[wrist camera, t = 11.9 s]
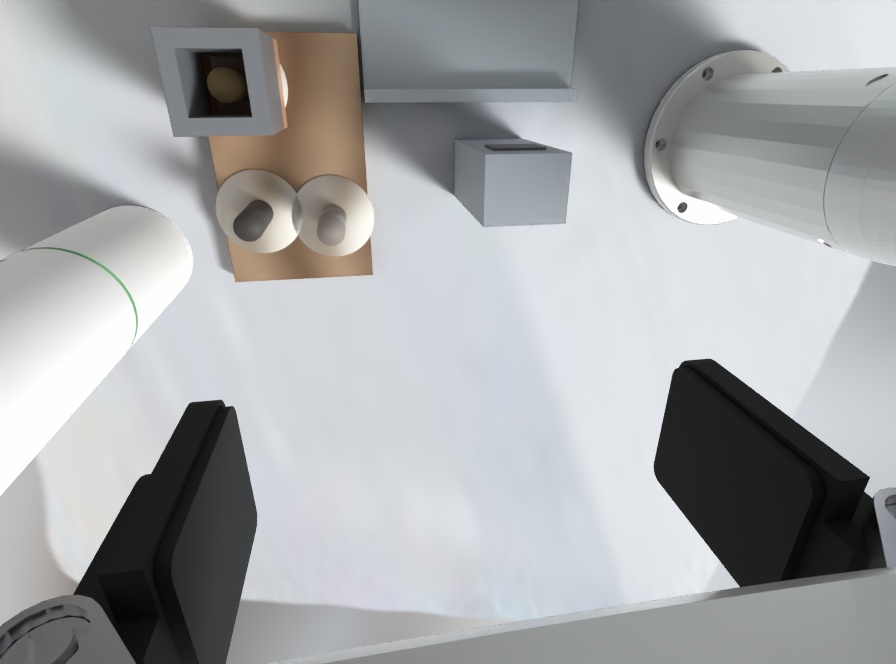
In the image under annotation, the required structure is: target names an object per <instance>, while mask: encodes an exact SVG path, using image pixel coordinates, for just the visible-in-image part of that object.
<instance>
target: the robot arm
mask: <svg viewBox="0 0 896 664" xmlns="http://www.w3.org/2000/svg"><path fill="white" fill-rule="evenodd" d="M702 73H703V75H702ZM656 142H657V145H656V146H655V144H656ZM644 167H645V174H646V179H647V182H648V185H649V187H650V190H651V193H652V194H653V196H654V197H655V199H656V200H657V202H658V203H659V204H660V205H661V206H662V207H663V208H664V209H665V210H666V211H667V212H668V213H670V214H672V215H673V216H675V217H677V218H679V219H681V220H684V221H687V222H689V223H694V224H700V225H713V224H720V223H724V222H728V221H731V220H733V219H736V218H738V217H740V218H743V219H746V220H749V221H752V222H756V223H759V224H762V225H765V226H768V227H771V228H774V229H777V230H780V231H783V232H786V233H789V234H792V235H795V236H798V237H801V238H804V239H807V240H810V241H813V242H816V243H820V244H823V245H826V246H829V247H832V248H835V249H838V250H841V251H844V252H847V253H850V254H853V255H856V256H859V257H862V258H865V259H869V260H872V261H875V262H879V263H883V264H887V265H892V266H896V67H889V68H867V69H845V70H822V71H800V72H790V71H789V70H788V69H787V67H786V66H785V65H784V64H782V63H781V62H780V61H779V60H777V59H776V58H775V57H773V56H770V55H768V54H765V53H763V52H759V51H751V50H739V51H730V52H725V53H721V54H716V55H714V56H712V57H709V58H707V59H705V60H703V61H701V62H699V63H698V64H696V65H695V66H693V67H692V68H690V69H689V70H688V71H686V72H685V73H684V74H683V75H682V76H681V77H680V78H679V79H678V80H677V81H676V82H675V83H674V84H673V85H672V86H671V88H670V89H669V90H668V92H667V93H666V94H665V96H664V97H663V98H662V100H661V102H660V104H659V106H658V107H657V109H656V111H655V113H654V115H653V118H652V120H651V123H650V126H649V129H648V132H647V137H646V142H645V147H644ZM654 472H655V476H656V478H657V480H658V482H659V483H660V484H661V486H662V487H663V488H664V489H665V491H666V492H667V493H668V495H669V496H670V497H671V498H672V500H673V501H674V502H675V504H676V505H677V506H678V507H679V509H680V510H681V511H682V513H683V514H684V515H685V516H686V518H687V519H688V520H689V522H690V523H691V524H692V525H693V527H694V528H695V529H696V531H697V532H698V533H699V535H700V536H701V537H702V538H703V540H704V541H705V542H706V544H707V545H708V546H709V547H710V549H711V550H712V551H713V553H714V554H715V555H716V556H717V558H718V559H719V560H720V562H721V563H722V564H723V565H724V567H725V568H726V569H727V571H728V572H729V573H730V574H731V576H732V577H733V578H734V580H735V581H736V582H737V584H738V585H739V586H740V588H733V589H727V590H720V591H713V592H706V593H699V594H693V595H686V596H679V597H673V598H666V599H660V600H653V601H647V602H640V603H634V604H627V605H621V606H614V607H608V608H601V609H595V610H588V611H582V612H576V613H569V614H563V615H557V616H550V617H544V618H537V619H531V620H525V621H518V622H512V623H506V624H499V625H493V626H487V627H481V628H474V629H469V630H462V631H456V632H450V633H444V634H438V635H431V636H425V637H419V638H413V639H406V640H400V641H394V642H388V643H382V644H375V645H369V646H363V647H357V648H351V649H346V650H340V651H335V652H329V653H324V654H318V655H312V656H307V657H301V658H296V659H290V660H285V661H279V662H273V663H268V664H896V488H886V489H881V490H879V491H878V492H877V493H876V494H875V495H874V497H873V498H871V497H870V496H869V495H868V494H866V493H865V492H864V490H865V488H866V485H867V483H868V481H869V478H870V477H869V476H867V475H866V474H865V473H863V472H862V471H861V470H859V469H858V468H857V467H855V466H854V465H853V464H851V463H850V462H849V461H847V460H846V459H845V458H843V457H842V456H841V455H839V454H838V453H837V452H835V451H834V450H833V449H831V448H830V447H829V446H827V445H826V444H825V443H823V442H822V441H821V440H819V439H818V438H817V437H815V436H814V435H813V434H811V433H810V432H809V431H807V430H806V429H805V428H803V427H802V426H801V425H799V424H798V423H797V422H795V421H794V420H793V419H791V418H790V417H789V416H788V415H786V414H785V413H784V412H782V411H781V410H780V409H778V408H777V407H776V406H774V405H773V404H772V403H770V402H769V401H768V400H766V399H765V398H764V397H762V396H761V395H760V394H758V393H757V392H756V391H754V390H753V389H752V388H750V387H749V386H748V385H746V384H745V383H744V382H742V381H741V380H740V379H738V378H737V377H736V376H734V375H733V374H732V373H730V372H729V371H728V370H726V369H725V368H724V367H722V366H721V365H720V364H718V363H717V362H716V361H714V360H712V359H700V360H688V361H684V362H682V363H681V365H680V366H679V368H677V369H675V370H674V372H673V375H672V380H671V385H670V389H669V394H668V399H667V404H666V409H665V413H664V418H663V423H662V428H661V433H660V437H659V442H658V447H657V452H656V456H655V461H654ZM256 527H257V511H256V506H255V501H254V496H253V491H252V486H251V482H250V477H249V472H248V467H247V463H246V458H245V453H244V448H243V443H242V439H241V434H240V429H239V424H238V420H237V415H236V411H235V408H234V407H233V406H229V407H225V404H224V402H223V401H222V400H213V401H201V402H192V403H190V404H189V405H188V406H187V408H186V410H185V412H184V414H183V416H182V417H181V419H180V421H179V423H178V425H177V427H176V429H175V430H174V432H173V434H172V436H171V438H170V440H169V442H168V444H167V445H166V447H165V449H164V451H163V453H162V455H161V457H160V459H159V460H158V462H157V464H156V466H155V468H154V470H153V472H152V473H151V474H147V475H144V476H142V477H140V478H139V480H138V481H137V482H136V484H135V486H134V487H133V489H132V491H131V493H130V494H129V496H128V498H127V500H126V502H125V503H124V505H123V507H122V509H121V510H120V512H119V514H118V516H117V518H116V519H115V521H114V523H113V525H112V526H111V528H110V530H109V532H108V534H107V535H106V537H105V539H104V541H103V543H102V544H101V546H100V548H99V550H98V551H97V553H96V555H95V557H94V559H93V560H92V562H91V564H90V566H89V567H88V569H87V571H86V573H85V575H84V576H83V578H82V580H81V582H80V583H79V585H78V587H77V589H76V591H75V592H74V594H73V595H67V596H60V597H56V598H53V599H49V600H46V601H43V602H40V603H38V604H36V605H34V606H32V607H30V608H28V609H26V610H23V611H22V612H20V613H19V614H17V615H16V616H14V617H13V618H11V619H10V620H8V621H7V622H5V623H4V624H2V625H1V626H0V664H226V659H227V655H228V651H229V646H230V642H231V637H232V633H233V629H234V624H235V620H236V615H237V611H238V607H239V602H240V598H241V594H242V589H243V585H244V580H245V576H246V572H247V567H248V563H249V558H250V554H251V550H252V545H253V541H254V536H255V532H256Z"/></svg>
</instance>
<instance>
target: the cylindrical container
mask: <svg viewBox="0 0 896 664" xmlns="http://www.w3.org/2000/svg"><path fill="white" fill-rule="evenodd" d="M192 269H193V257H192V251H191V248H190V245H189V243H188V241H187V239H186V237H185V236H184V234H183V233H182V231H181V230H180V229H179V228H178V227H177V226H176V225H175V224H174V223H173V222H172V221H171V220H169V219H168V218H167V217H165V216H163V215H162V214H160V213H158V212H156V211H153V210H151V209H148V208H145V207H140V206H132V205H123V206H117V207H113V208H110V209H107V210H105V211H103V212H101V213H99V214H96V215H94V216H92V217H90V218H88V219H86V220H84V221H82V222H80V223H78V224H75V225H73V226H71V227H69V228H67V229H65V230H63V231H61V232H59V233H56V234H54V235H52V236H50V237H48V238H46V239H44V240H42V241H40V242H38V243H35V244H33V245H31V246H29V247H27V248H25V249H23V250H21V251H19V252H16V253H14V254H12V255H10V256H8V257H6V258H4V259H2V260H0V495H1V494H2V493H3V492H4V491H5V490H6V489H7V487H8V486H9V485H10V484H11V483H12V482H13V481H14V480H15V479H16V477H17V476H18V475H19V474H20V473H21V472H22V470H23V469H24V468H25V467H26V466H27V465H28V464H29V463H30V461H31V460H32V459H33V458H34V457H35V456H36V455H37V453H38V452H39V451H40V450H41V449H42V448H43V447H44V446H45V444H46V443H47V442H48V441H49V440H50V439H51V438H52V436H53V435H54V434H55V433H56V432H57V431H58V430H59V428H60V427H61V426H62V425H63V424H64V423H65V422H66V421H67V419H68V418H69V417H70V416H71V415H72V414H73V413H74V411H75V410H76V409H77V408H78V407H79V406H80V405H81V403H82V402H83V401H84V400H85V399H86V398H87V397H88V395H89V394H90V393H91V392H92V391H93V390H94V389H95V388H96V386H97V385H98V384H99V383H100V382H101V381H102V380H103V378H104V377H105V376H106V375H107V374H108V373H109V372H110V370H111V369H112V368H113V367H114V366H115V365H116V364H117V363H118V361H119V360H120V359H121V358H122V357H123V356H124V354H125V353H126V352H127V351H128V350H129V349H130V348H131V347H132V345H133V344H134V343H135V342H136V341H137V340H138V339H139V337H140V336H141V335H142V334H143V333H144V332H145V331H146V330H147V328H148V327H149V326H150V325H151V324H152V323H153V322H154V320H155V319H156V318H157V317H158V316H159V315H160V314H161V312H162V311H163V310H164V309H165V308H166V307H167V306H168V304H169V303H170V302H171V301H172V300H173V299H174V298H175V297H176V295H177V294H178V293H179V292H180V291H181V290H182V289H183V287H184V286H185V285H186V283H187V282H188V280H189V278H190V276H191V272H192Z"/></svg>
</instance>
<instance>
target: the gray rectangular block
mask: <svg viewBox="0 0 896 664" xmlns="http://www.w3.org/2000/svg"><path fill="white" fill-rule="evenodd" d="M571 161H572V153H571V152H567V151H564V150H560V149H557V148H553V147H550V146H546V145H543V144H539V143H536V142H532V141H528V140H525V139H521V138H518V139H456V140H454V196H455V197H456V198H457V199H458V200H459V201H460V202H461V203H462V205H463V206H464V207H465V208H466V209H467V210H468V211H469V212H470V213H471V214H472V215H473V216H474V217H475V218H476V219H477V220H478V221H479V223H480V224H481V225H482V226H483V227H494V226H518V225H543V224H566V213H567V203H568V192H569V182H570V171H571Z"/></svg>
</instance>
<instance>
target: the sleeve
mask: <svg viewBox="0 0 896 664" xmlns="http://www.w3.org/2000/svg"><path fill="white" fill-rule="evenodd" d="M150 29H151V34H152V38H153V43H154V48H155V52H156V57H157V62H158V66H159V71H160V75H161V80H162V85H163V89H164V94H165V99H166V103H167V108H168V113H169V117H170V122H171V127H172V131H173V136H174V137H200V136H261V135H274V134H276V133H278V132H280V131H282V130H283V129H285V128H287V127H288V125H287V117H286V109H285V101H284V93H283V86H282V78H281V70H280V62H279V54H278V46H277V40H275V39H274V38H272V37H271V36H269V35H268V34H266V33H264V32H263V31H261V30H260V29H258V28H213V27H150ZM210 57H243V60H244V66H245V73H246V80H247V86H248V93H249V99H250V106H251V112H252V113H220V111H219V105H218V100H217V99H215V98H214V97H213V96H212V94H211V93H210V91H209V89H208V86H207V78H208V75H209V73H210V72H211V71H212V65H211V60H210Z"/></svg>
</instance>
